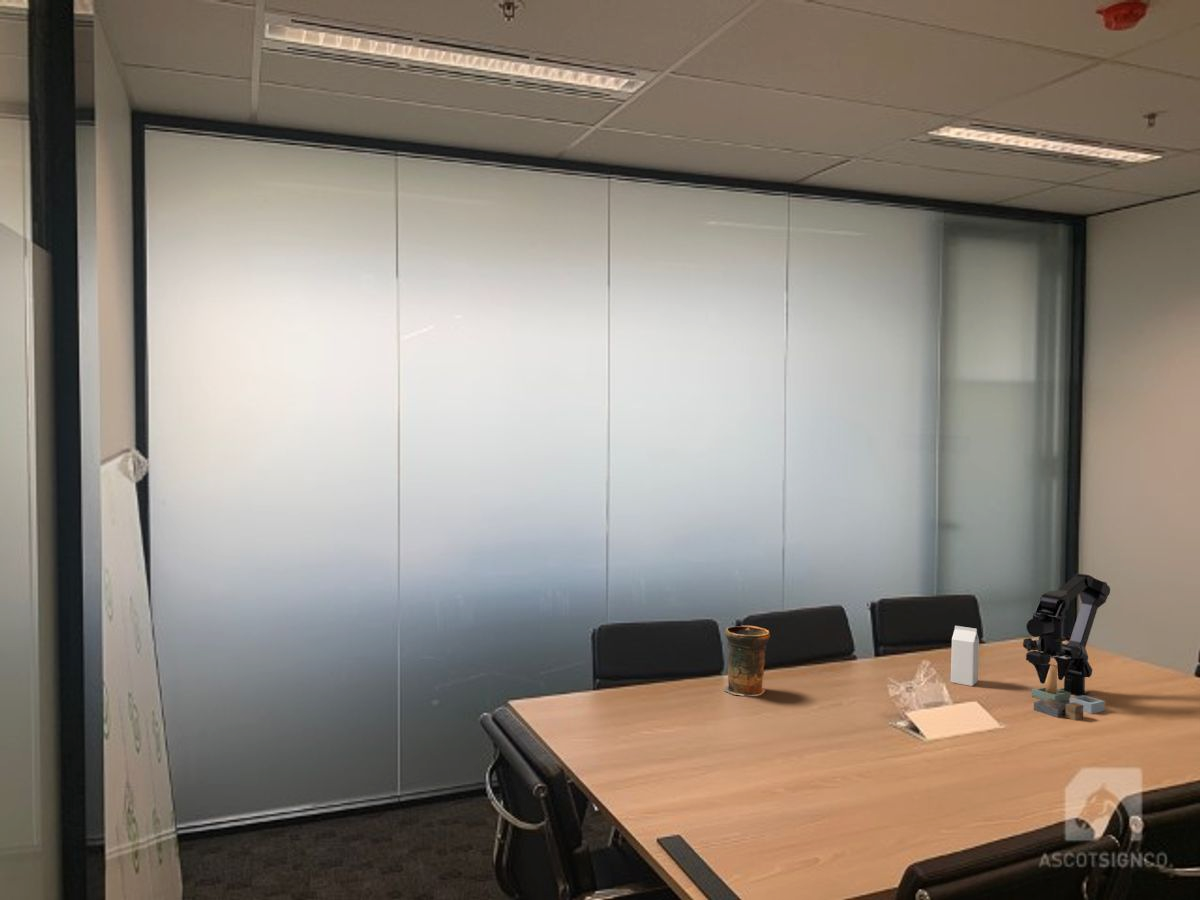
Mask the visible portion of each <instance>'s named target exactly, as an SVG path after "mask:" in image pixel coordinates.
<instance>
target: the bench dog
mask: <svg viewBox="0 0 1200 900" xmlns="http://www.w3.org/2000/svg"><path fill="white" fill-rule="evenodd" d="M1065 718H1067V719H1069V720H1073V721H1078V720H1081V719H1084V712H1083V705H1082V704H1078V703H1075V702H1073V703H1067V704H1066V710H1065Z"/></svg>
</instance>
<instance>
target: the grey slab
mask: <svg viewBox="0 0 1200 900" xmlns="http://www.w3.org/2000/svg"><path fill="white" fill-rule="evenodd" d="M1066 704H1068V703H1067V702H1060V701H1057V700H1054V699H1046V700H1041V699H1040V700H1035V701H1033V711H1034V712H1039V713H1041V714H1044V715H1047V716H1051V717H1052V718H1057V719H1059V718H1060V719H1061V718H1064V717H1065V710H1066ZM1065 718H1066V717H1065Z"/></svg>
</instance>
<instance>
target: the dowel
mask: <svg viewBox="0 0 1200 900" xmlns="http://www.w3.org/2000/svg"><path fill="white" fill-rule="evenodd" d="M1057 681H1058V671H1057V664H1051V665H1050V668H1049V671H1048V674H1047V678H1046V680H1045V686H1046V692H1047V693H1050V694H1057V689H1058V683H1057Z"/></svg>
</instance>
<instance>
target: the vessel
mask: <svg viewBox="0 0 1200 900" xmlns="http://www.w3.org/2000/svg"><path fill="white" fill-rule="evenodd" d="M724 635H725V637H726V639H727V649H728V659H727V664H728V666H727V667H728V670H727V681H728V685H727V686H724V690H723V691H725V692H728V693H729V694H731V695H735V696H737V695H738V696H741V697H742V696H749V697H759V696H761V695H762V694H764V693H765V692H766V691H767V690H766V688H763V679H764V675H765V671H764V669H765V664H766V660H765V657H766V650H767V643H768V642H769V640H770V639H771V635H770V631H769V629H768V630H767V629H766V628H763V627H759V626H754V625H740V626H739V625H737V626H729V627H726V628H725V634H724Z"/></svg>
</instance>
